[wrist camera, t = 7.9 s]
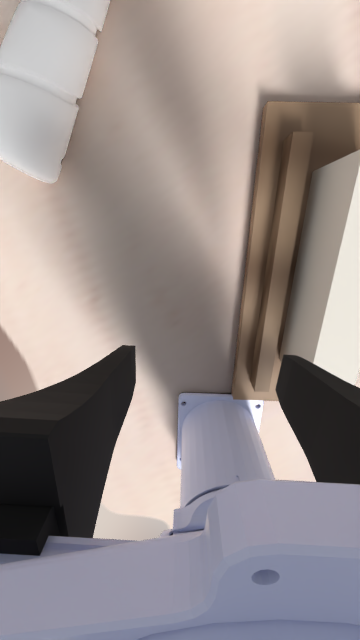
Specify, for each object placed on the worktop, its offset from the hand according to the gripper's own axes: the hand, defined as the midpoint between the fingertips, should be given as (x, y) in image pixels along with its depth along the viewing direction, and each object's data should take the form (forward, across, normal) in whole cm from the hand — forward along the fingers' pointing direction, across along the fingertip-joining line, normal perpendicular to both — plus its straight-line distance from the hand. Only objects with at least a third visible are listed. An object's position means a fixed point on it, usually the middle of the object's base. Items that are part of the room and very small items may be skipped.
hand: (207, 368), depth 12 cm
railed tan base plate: (+9, -8, -3) cm, 13 cm away
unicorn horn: (+10, +8, -19) cm, 23 cm away
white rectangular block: (+8, -8, -3) cm, 12 cm away
